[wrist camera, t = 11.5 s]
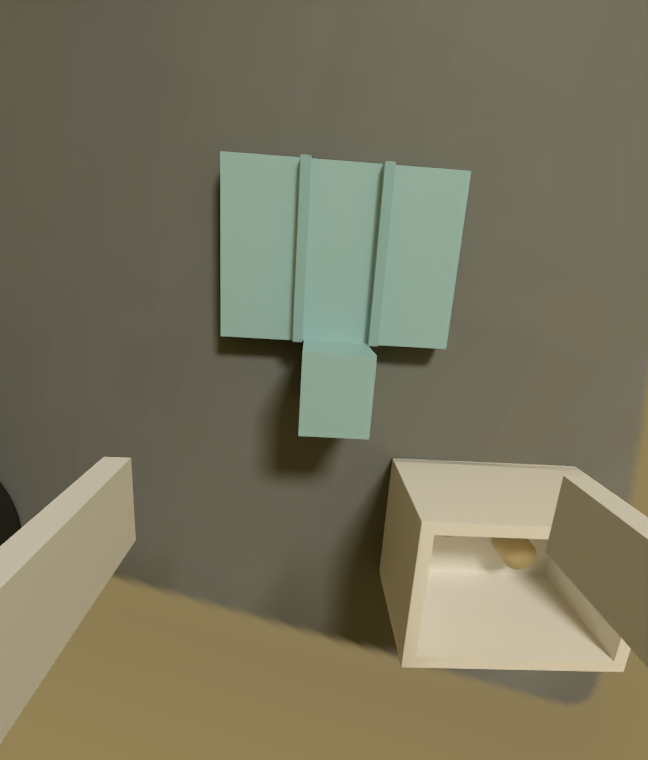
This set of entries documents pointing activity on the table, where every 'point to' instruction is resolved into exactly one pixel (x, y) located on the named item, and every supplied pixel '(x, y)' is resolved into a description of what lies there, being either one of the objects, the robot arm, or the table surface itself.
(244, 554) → the table surface
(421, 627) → the tub
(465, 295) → the table surface
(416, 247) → the lid
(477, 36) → the table surface
